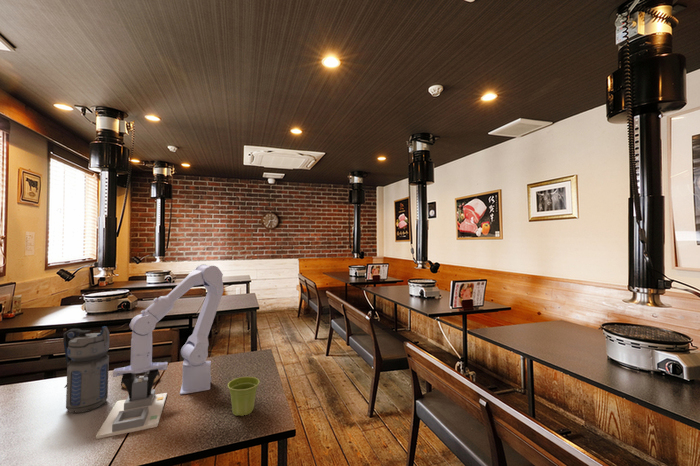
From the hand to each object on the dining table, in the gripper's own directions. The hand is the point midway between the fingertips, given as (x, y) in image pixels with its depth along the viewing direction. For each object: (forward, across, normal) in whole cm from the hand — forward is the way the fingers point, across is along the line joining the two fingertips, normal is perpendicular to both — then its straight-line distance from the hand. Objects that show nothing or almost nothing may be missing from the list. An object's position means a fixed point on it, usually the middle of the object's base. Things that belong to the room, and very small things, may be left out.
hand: (140, 395), depth 100 cm
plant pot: (+3, +30, -17) cm, 35 cm away
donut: (+3, -3, +19) cm, 19 cm away
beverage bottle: (+3, -16, +6) cm, 17 cm away
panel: (+3, 0, -6) cm, 7 cm away
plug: (+2, 0, 0) cm, 2 cm away
